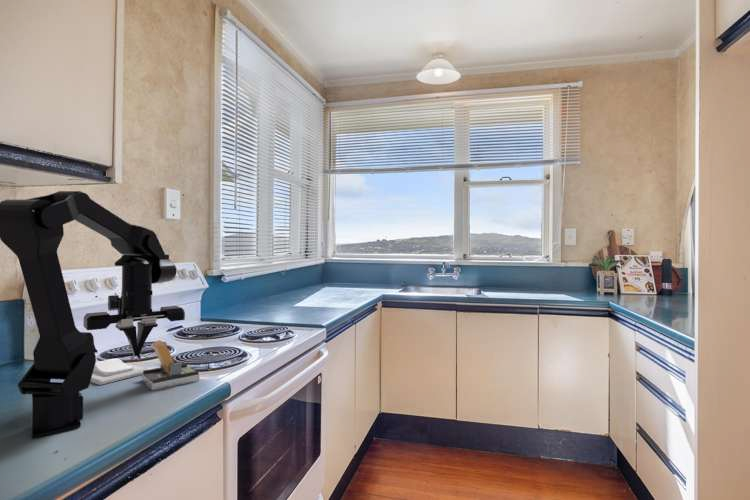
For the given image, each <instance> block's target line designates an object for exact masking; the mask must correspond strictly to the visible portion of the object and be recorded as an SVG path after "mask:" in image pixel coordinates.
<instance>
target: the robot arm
mask: <svg viewBox="0 0 750 500" xmlns="http://www.w3.org/2000/svg"><path fill="white" fill-rule="evenodd" d="M73 221H75V222H78V223H79V224H81V225H83V226H85V227H86V228H89V229H90V230H92V231H94V232H96V233H98V234H100V235H101V236H103V237H105V238H106V239H107V240H108V241H110V245H111V247H112V248H113V249H115V250H116V251H117V252H118V253H120V254H121V257H120V258H119V259H118V260H116V261H115V262H114V266H115V267H121V295H120V297H119V295H108V297H107V309H108V311H117V314H110V313H108V312H107V311H100V312H99V311H98V312H97V311H96V312H87V313H86V314H85V315H84V316H83V327H84V328H85V329H86V330H87V331H94V330H97V331H98V330H104V329H108V327H109V326H111V324H115V328H116V329H117V330H119V331H123V333H124V335H125V337H126V338H127V341H128V343H129V346H130V349H131V351H132V354H133V356H134V357H138V356H140V354H141V352H142V349H143V347H144V345H145V343H146V340H147V339H148V337H149V335H150V334H151V332H152V330H153V329H154V328H156V327H158V323H157V320H158V319H160V320H161V319H167V320H168V321H170V322H178V321H185V320H186V319H185V318H186V317H185V316H186V312H185V309H184V308H183V307H181V306H178V305H169V306H160V308H159V310H154V311H153V309H152V308H153V307H152V305H153V304H152V302H153V301H152V297H153V290H152V289H153V285H152V284H159V283H160V284H161V283H165V282H166V283H167V282H171V281H172V280H174V278H175V277H176V276H177V272H178V271H177V267H176V264H175V263H174V262H173V261H172V260H171V259H170V255H169V254H166V253H165V251H164V250H163V247H162V244H161V243H160V240H159V238H158V236H157V234H156V232H155V231H154V230H152V229H149V228H147V227H145V226H141V225H137V224H133V223H132V224H131V223H130V222H127V221H126V220H124V219H123V218H121V217H119V216H117V214H115V213H113V212H112V211H110V210H109V209H107V208H105V207H104V206H102V205H101V204H99V203H98V202H96V201H95V200H93V199H92V198H91V197H90V195H88V194H87V192H83V191H79V190H74V191H73V190H61V191H60V190H59V191H57V192H53V193H50V194H47V195H42V196H36V197H32V198H31V197H30V198H27V199H26V198H25V199H5V200H1V201H0V241H1V242H2V243H3V244H4V245H5V246H6V247H7V248H8V249H9V250H10V251H11V252H13V254H14V255H16V257H17V259H18V262H19V265H20V269H21V273H22V275H23V280H24V284H25V288H26V291H27V295H28V298H29V301H30V305H31V309H32V313H33V316H34V320H35V323H36V327H37V330H38V334H39V338H38V339H37V342H36V344H35V346H34V349H33V353H32V354H33V355H32V356H33V364H32V365H31V366H30V368H28V370H27V371H26V372H25V374H24V375H23V377H22V378H21V379H20V381H18V384H17V387H18V390H19V392H20V394H21V395H31V420H30V421H31V422H30V423H29V429H30V437H31V438H32V439H33V438H34V439H35V438H39V437H43V436H47V435H52V434H56V433H59V432H64V431H68V430H73V429H77V428H80V427H81V426H82V423H81V421H82V420H83V419H84V396H83V394H82V391H84V390H87V389H88V388H89V387H90V383H91V382H90V381H91V377H92V373H93V370H94V366H95V363H96V362H97V357H96V354H97V353H98V350H97V349H96V346H95V341H94V340H95V339H94V335H93V334H92V332H86V331H85V332H84V331H83V332H82V331H80V330H78V328H77V327H76V324H75V323H76V322H75V321H74V317H73V311H72V308H71V307H72V306H71V303H70V299H69V296H68V295H69V294H68V291H67V287H66V283H65V279H64V276H63V275H64V274H63V271H62V268H61V263H60V259H59V256H58V249H59V247H60V244H61V241H62V240H63V237H64V235H65V234H64V233H65V232H64V225H66V224H68V223H71V222H73ZM134 322H136V323H137V325H136V326H135V325H134ZM51 380H60V381H61V380H62V382H60V381H51Z"/></svg>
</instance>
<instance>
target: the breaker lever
mask: <svg viewBox="0 0 750 500" xmlns="http://www.w3.org/2000/svg"><path fill="white" fill-rule="evenodd" d="M151 346H152V347H153V350H154V352H155V354H156V356H157V358H158V360H159V362H160V364H161V365H162V367H163V369H164V370H165V371H166V372H168V373H169V364H173V363H175V361H174V359H172V357H173V356H172V355H171V352H170V350H169V348H168V346H167V343H165V342H163V341H162V340H160V339H159V340H157V341H155V342H152V343H151ZM171 356H172V357H171Z"/></svg>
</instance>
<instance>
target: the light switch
mask: <svg viewBox="0 0 750 500" xmlns="http://www.w3.org/2000/svg"><path fill="white" fill-rule="evenodd" d="M144 370H149V369H148V368H147V367H143V366H140V365H139V366H138V365H134V364H130V363H125V362H123V360H121V359H120V358H108V359H106V360H105V359H104V360H101V361H96V363H95V366H94V370H93V373H92V377H91V381H90V383H94V384H95V385H99V386H101V385H106V384H110V383H114V382H117V381H121V380H126V379H130V378H134V377H137V376H142V374H143V371H144Z"/></svg>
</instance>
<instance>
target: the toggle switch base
mask: <svg viewBox="0 0 750 500" xmlns="http://www.w3.org/2000/svg"><path fill="white" fill-rule="evenodd" d="M171 357H172V359H173V358H174V357H173V356H172V355H171ZM173 360H174V359H173ZM141 381H142V382H143V383H144V384H145V385H146V386H147V387H148V388H149V389H150V390H151V391H157V390H161V389H165V388H170V387H171V388H172V387H175V386H179V385H184V384H190V383H193V382H194V383H195V382H199V381H200V373H199V370H194V369H193V368H191V367H190V366H188V363H186V362H184V363H183V362H180V361H178V362H174V363H173V364H169V373H168V372H166V371H165V370H164V369H163V367H162V365H161V363H160V367H157V368H151V369H148V370H144V371H143V374H142V375H141Z"/></svg>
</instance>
